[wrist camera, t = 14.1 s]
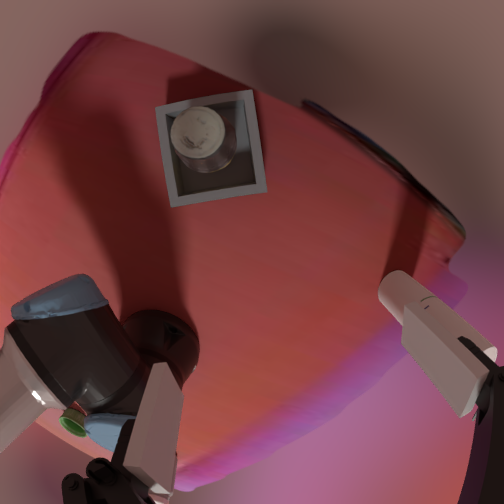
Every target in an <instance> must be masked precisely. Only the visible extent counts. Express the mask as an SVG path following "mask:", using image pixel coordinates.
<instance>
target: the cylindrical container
mask: <svg viewBox="0 0 504 504" xmlns="http://www.w3.org/2000/svg"><path fill="white" fill-rule="evenodd" d="M378 297H379V300H380V302H381V303H382V304H383V305H384V306H385V307H386V308H387V309H388V310H389V311H390V312H391V314H392V315H393V316H394V317H395V318H396V319H397V320H398V321H399V322H400V324H401V325H402V326H403V316H404V305H405V304H408V303H411V302H414V301H416V302H417V303H418V304H419V305H420V306H421V307H423V308H424V309H425V310H426V311H427V312H428V313H429V314H430V315H432V316H433V317H434V318H435V319H436V320H437V321H438V322H439V323H440V324H442V325H443V326H444V327H445V328H446V329H447V330H448V331H449V332H450V333H451V334H452V335H453V336H455V337H456V338H458V337H460V336H463V337H465V338H468V339H470V340H471V341H472V342H473V343H474V344H475V345H476V346H478V347H479V348H480V349H481V351H483V352H484V353H485V354H486V355H487V356H488V357H489V358H490V359H491V360H492V361H493V362H494V363H495V360H496V357H497V349H496V348H495V347H494V346H493V345H492V344H491V343H490V342H489V341H488V340H487V339H486V338H484V337H483V336H482V335H481V334H480V333H479V332H478V331H477V330H476V329H474V328H473V327H472V326H471V325H470V324H469V323H467V322H466V321H465V320H464V319H463V318H462V317H461V316H459V315H458V314H457V313H456V312H455V311H453V310H452V309H451V308H450V307H449V306H447V305H446V304H445V303H444V302H442V301H441V300H440V299H439V298H438V297H436V296H435V295H434V294H433V293H431V292H430V291H429V290H427V289H426V288H425V287H424V286H422V285H421V284H420V283H418V282H417V281H416V280H415V279H413V278H412V277H411V276H409V275H408V274H407V273H405V272H404V271H401V270H396V271H393V272H391V273H389V274H388V275H386V276H385V277H384V279H383V280H382V281H381V283H380V285H379V289H378Z"/></svg>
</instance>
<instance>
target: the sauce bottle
mask: <svg viewBox="0 0 504 504" xmlns="http://www.w3.org/2000/svg"><path fill="white" fill-rule="evenodd" d="M170 139H171V142H172V145H173V146H174V148H175V152H176V154H177V155H178V156H179V158H180V159H181V160H182V161H183V162H184V164H185V165H186V166H187V167H189V168H190V169H192V170H194V171H197V172H202V173H207V172H214V171H217V170H220V169H222V168H224V167H226V166H227V165H228V164H229V163H230V162H231V160H232V158H233V157H234V154H235V151H236V148H237V138H236V133H235V128H234V127H233V126H232V124H231V123H230V122H229V121H228V120H227V119H226V118H225V117H224V116H222V115H220V114H218V113H217V112H216V111H214V110H213V109H211V108H209V107H204V106H194V107H190V108H188V109H186V110H184V111H182V112H181V113H180V114H179V115H178V116H177V117H176V118H175V120H174V122H173V124H172V126H171V131H170Z"/></svg>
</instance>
